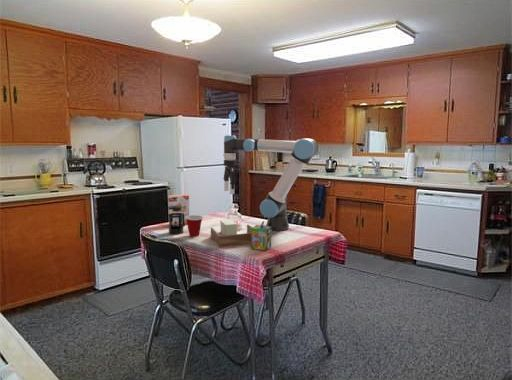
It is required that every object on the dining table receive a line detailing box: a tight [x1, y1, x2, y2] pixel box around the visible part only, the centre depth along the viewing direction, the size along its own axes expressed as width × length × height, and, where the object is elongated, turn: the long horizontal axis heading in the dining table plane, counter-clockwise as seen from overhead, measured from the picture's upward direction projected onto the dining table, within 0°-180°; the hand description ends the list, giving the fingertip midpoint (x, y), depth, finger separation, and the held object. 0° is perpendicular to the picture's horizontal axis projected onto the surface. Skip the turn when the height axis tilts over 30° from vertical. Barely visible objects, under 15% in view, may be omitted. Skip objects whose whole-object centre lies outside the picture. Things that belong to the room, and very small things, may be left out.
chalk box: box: [251, 220, 272, 252], centre depth 198 cm, size 9×9×15 cm
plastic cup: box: [185, 214, 204, 238], centre depth 225 cm, size 11×11×12 cm
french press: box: [167, 197, 186, 236], centre depth 233 cm, size 12×9×23 cm
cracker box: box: [167, 194, 190, 226], centre depth 254 cm, size 14×6×21 cm, turn 104°
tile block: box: [219, 219, 238, 236], centre depth 228 cm, size 14×7×8 cm, turn 18°
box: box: [210, 224, 254, 248], centre depth 215 cm, size 22×24×6 cm
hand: (229, 192), depth 237 cm, fingers open, 13 cm apart
